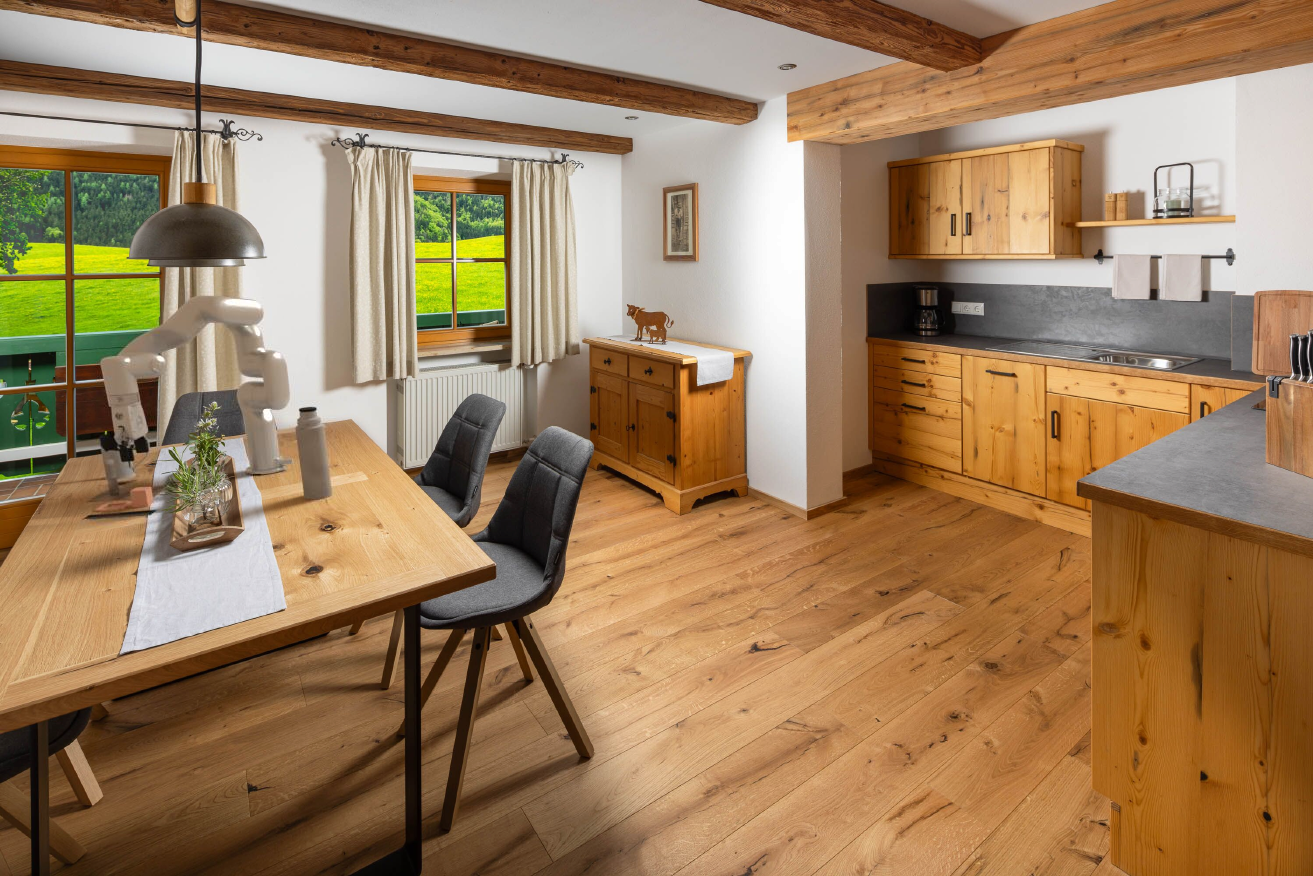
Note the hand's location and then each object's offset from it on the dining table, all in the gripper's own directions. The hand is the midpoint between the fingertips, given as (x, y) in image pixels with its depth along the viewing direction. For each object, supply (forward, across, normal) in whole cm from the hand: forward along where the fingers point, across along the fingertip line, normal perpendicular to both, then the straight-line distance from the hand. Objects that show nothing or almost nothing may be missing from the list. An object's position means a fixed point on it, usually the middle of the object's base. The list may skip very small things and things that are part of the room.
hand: (135, 456), depth 215 cm
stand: (+16, +13, +9) cm, 23 cm away
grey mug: (+17, +41, +20) cm, 49 cm away
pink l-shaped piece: (+16, 0, +5) cm, 16 cm away
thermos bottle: (+17, 0, -48) cm, 50 cm away
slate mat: (+16, -1, +5) cm, 17 cm away
